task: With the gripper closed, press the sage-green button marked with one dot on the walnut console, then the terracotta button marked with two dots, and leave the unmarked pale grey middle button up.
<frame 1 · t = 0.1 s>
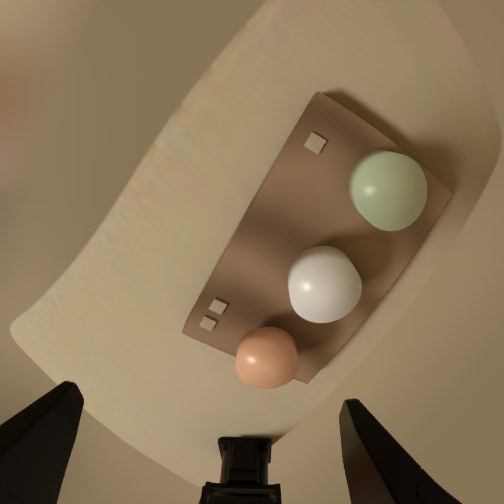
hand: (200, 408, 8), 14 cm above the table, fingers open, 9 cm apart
console: (313, 258, 22), on the table
grey button: (323, 284, 19), point 4 cm above the table, slide at 0.0 cm
terracotta button: (267, 358, 21), point 4 cm above the table, slide at 0.0 cm
sage button: (387, 189, 16), point 4 cm above the table, slide at 0.0 cm
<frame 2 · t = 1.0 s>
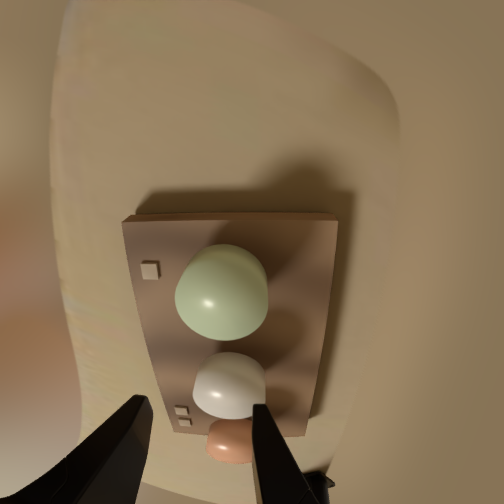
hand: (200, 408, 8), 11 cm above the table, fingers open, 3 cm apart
console: (234, 348, 21), on the table
grey button: (230, 387, 18), point 4 cm above the table, slide at 0.0 cm
terracotta button: (235, 442, 20), point 4 cm above the table, slide at 0.0 cm
sage button: (223, 293, 15), point 4 cm above the table, slide at 0.0 cm
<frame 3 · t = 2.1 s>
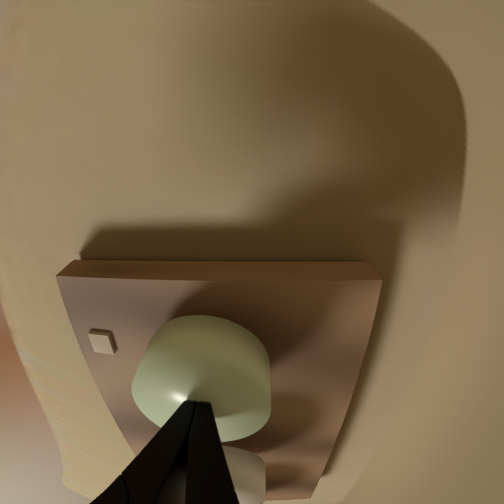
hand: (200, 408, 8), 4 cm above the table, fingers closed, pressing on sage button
console: (225, 422, 15), on the table
grey button: (219, 480, 12), point 4 cm above the table, slide at 0.0 cm
sage button: (203, 384, 9), point 3 cm above the table, slide at 0.6 cm, touching gripper
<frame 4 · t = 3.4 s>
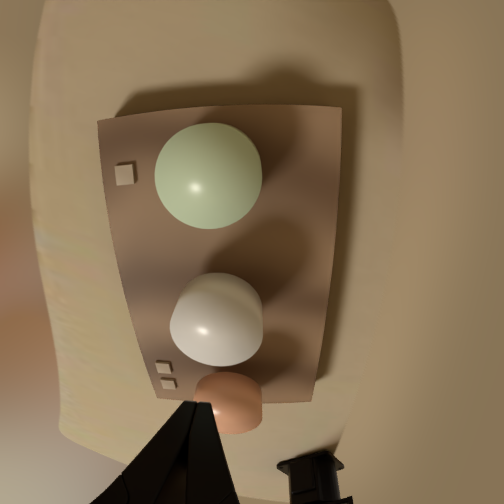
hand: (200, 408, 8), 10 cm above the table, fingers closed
console: (224, 281, 18), on the table
grey button: (217, 321, 15), point 4 cm above the table, slide at 0.0 cm
terracotta button: (227, 404, 18), point 4 cm above the table, slide at 0.0 cm
sage button: (210, 173, 13), point 3 cm above the table, slide at 1.0 cm
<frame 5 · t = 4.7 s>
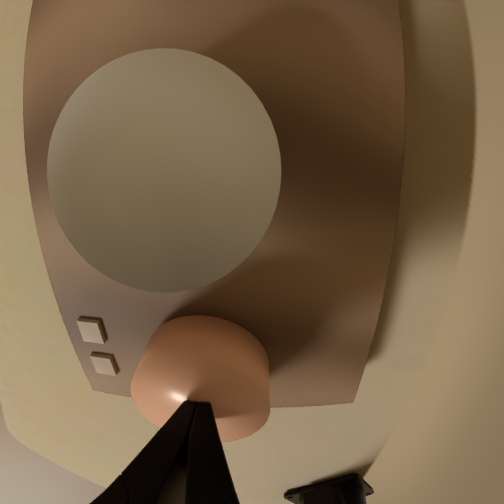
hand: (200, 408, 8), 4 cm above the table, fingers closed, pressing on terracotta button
console: (200, 151, 9), on the table
grey button: (164, 168, 6), point 4 cm above the table, slide at 0.0 cm
terracotta button: (202, 385, 9), point 3 cm above the table, slide at 1.0 cm, touching gripper
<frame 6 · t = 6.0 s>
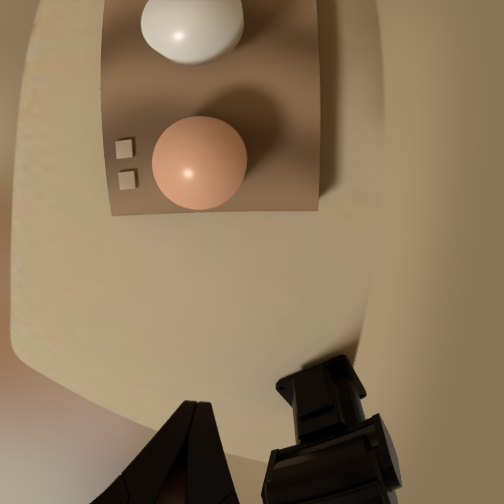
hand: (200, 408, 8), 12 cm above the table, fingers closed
console: (207, 40, 14), on the table
grey button: (194, 20, 10), point 4 cm above the table, slide at 0.0 cm
terracotta button: (201, 161, 14), point 3 cm above the table, slide at 1.0 cm
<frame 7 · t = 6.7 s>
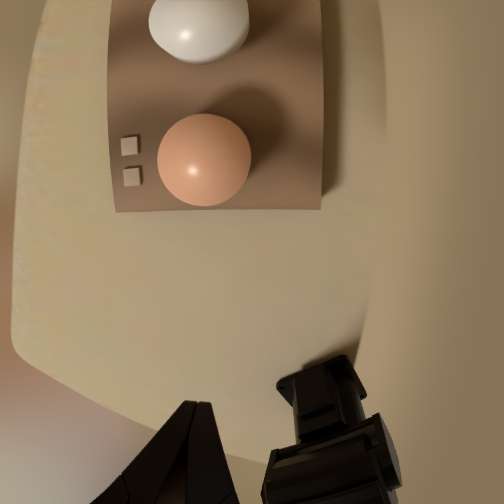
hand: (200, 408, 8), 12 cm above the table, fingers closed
console: (213, 40, 14), on the table
grey button: (200, 19, 11), point 4 cm above the table, slide at 0.0 cm
terracotta button: (206, 158, 14), point 3 cm above the table, slide at 1.0 cm
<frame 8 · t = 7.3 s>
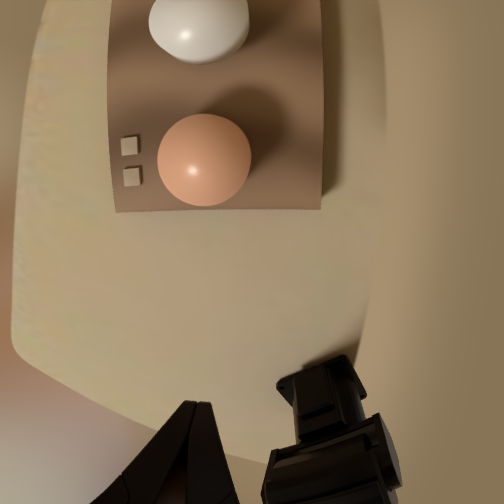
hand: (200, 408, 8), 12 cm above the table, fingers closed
console: (213, 40, 14), on the table
grey button: (200, 19, 11), point 4 cm above the table, slide at 0.0 cm
terracotta button: (206, 158, 14), point 3 cm above the table, slide at 1.0 cm
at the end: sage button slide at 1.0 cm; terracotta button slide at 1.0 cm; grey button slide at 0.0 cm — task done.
